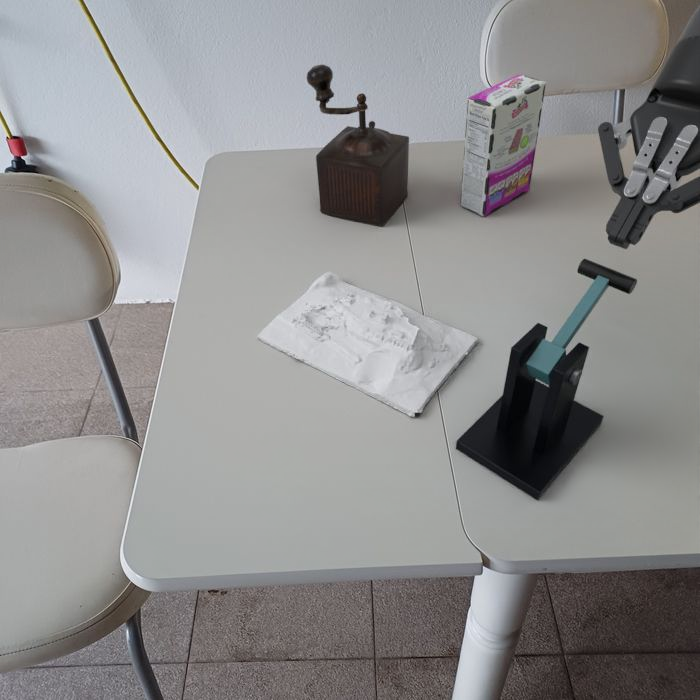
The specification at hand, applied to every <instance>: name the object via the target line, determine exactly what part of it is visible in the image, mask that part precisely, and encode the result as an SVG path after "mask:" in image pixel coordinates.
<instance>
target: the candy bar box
mask: <svg viewBox="0 0 700 700" xmlns="http://www.w3.org/2000/svg"><path fill="white" fill-rule="evenodd" d="M546 85H547V82H546V81H544V80H540V79H537V78H534V77H531V76H527V75H526V74H516V75H514V76H512V77H510V78H508V79H505V80H503V81H501V82H499V83H496V84H495V85H492V86H491V87H487V88H486V89H484V90H481V91H479V92H476V93H475V94H473V95H470V96H468V97H467V106H466V119H465V120H466V122H465V133H464V134H465V135H464V137H465V138H464V151H463V159H462V173H461V175H462V176H461V187H460V200H459V206H460V207H462V209H465V210H468V211H470V212H472V213H474V214H476V215H479V216H480V217H483V218H485V217H487V216H488V215H491V214H492V213H494V212H495V211H497V210H499V209H500V208H503V206H505V205H506V204H508V203H511V202H512V201H513V200H515V199H516V198H518V197H520V196H521V195H523V194H525V193H527V192H528V191H530V190H531V183H532V182H531V181H532V177H533V176H532V175H533V169H534V162H535V156H536V151H537V142H538V135H539V130H540V124H541V118H542V111H543V103H544V98H545V97H544V96H545V91H546Z"/></svg>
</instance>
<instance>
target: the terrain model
mask: <svg viewBox="0 0 700 700" xmlns="http://www.w3.org/2000/svg"><path fill="white" fill-rule="evenodd" d="M257 338H258V339H259V340H261V341H262V342H263V343H265V344H267V345H269V346H270V347H272V348H274V349H276V350H278V351H280V352H282V353H285V354H287V355H288V356H291V357H292V358H294V359H296V360H298V361H300V362H302V363H304V364H306V365H308V366H310V367H313V368H314V369H316V370H318V371H320V372H322V373H324V374H326V375H328V376H330V377H332V378H334V379H337V380H338V381H340V382H342V383H344V384H346V385H348V386H350V387H352V388H354V389H356V390H358V391H360V392H362V393H364V394H366V395H368V396H369V397H372V398H374V399H375V400H377V401H380V402H382V403H383V404H385V405H388V406H389V407H391V408H394V409H395V410H398V411H400V412H402V413H403V414H405V415H407V416H408V417H411V418H416V415H415V414H418V413H420V414H421V413H423V411H424V408H425V406H427V404H428V403H429V401H431V398H432V397H433V396H435V393H437V391H438V390H439V388H440V387H442V385H443V384H444V383H445V381H446V380H448V378H449V377H450V376H451V374H452V373H453V372H454V371H455V370H456V369H457V367H458V366H459V365H460V363H461V362H462V361H463V360H464V359H465V358H466V356H467V355H468V354H469V353H470V352H471V351H472V350H473V348H474V347H475V346H477V344H478V341H479V338H477V336H474V335H472V334H470V333H469V332H466V331H463V330H460V329H458V328H456V327H453V326H450V325H448V324H445V323H444V322H441V321H440V320H437V319H434V318H432V317H431V316H429V317H428V316H427V315H424V314H422V313H420V312H418V311H416V310H414V309H413V308H410V307H408V306H406V305H404V304H402V303H400V302H398V301H395V300H392V299H390V298H388V297H385V296H383V295H380V294H376V293H373V292H371V291H368V290H365V289H362V288H360V287H358V286H356V285H352V284H350V283H347V282H345V281H344V280H343V279H342V277H340V276H339V275H337V274H336V273H334V272H332V271H326V272H325V273H323V274H322V275H321V276H319V277H318V278H316V279H315V280H314V281H313V282H312V284H311V285H310V286H309V288H308V289H307V291H306V292H305V293H304V294H303V295H301V296H300V297H299V298H297V299H296V300H295V301H294V302H293V303H292V304H291V305H290V306H289V307H287V308H285V309H284V310H283V311H282V312H280V313H279V314H278V315H277V316H275V317H274V318H273V320H272V321H270V322H269V323H268V324H267V325H266V326H265V327H264V328H263V329H262V330H261V331H260V332H259V333H258V334H257Z"/></svg>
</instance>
